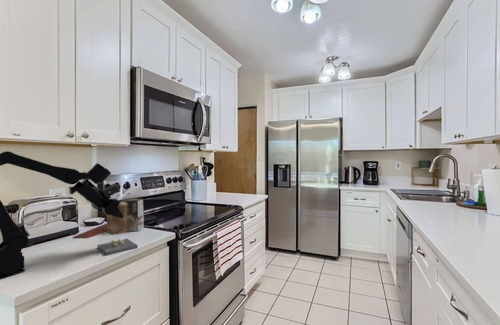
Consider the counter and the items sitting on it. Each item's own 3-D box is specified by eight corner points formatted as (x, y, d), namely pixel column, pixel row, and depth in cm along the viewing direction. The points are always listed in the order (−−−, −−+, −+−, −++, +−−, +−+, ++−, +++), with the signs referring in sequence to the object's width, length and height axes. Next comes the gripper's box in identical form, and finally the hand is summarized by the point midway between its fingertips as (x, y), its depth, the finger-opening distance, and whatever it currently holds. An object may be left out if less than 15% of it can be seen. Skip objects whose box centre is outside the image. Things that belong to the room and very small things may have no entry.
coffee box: (144, 228, 137) (144, 198, 137) (138, 231, 131) (138, 200, 131) (128, 227, 138) (128, 198, 138) (121, 230, 132) (121, 200, 132)
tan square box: (111, 235, 103) (111, 205, 103) (106, 231, 107) (106, 203, 107) (127, 232, 107) (127, 203, 107) (121, 229, 111) (122, 201, 111)
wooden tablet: (107, 224, 146) (107, 222, 146) (123, 225, 145) (123, 222, 145) (68, 239, 120) (68, 235, 120) (87, 240, 118) (87, 236, 118)
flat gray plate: (106, 255, 98) (106, 247, 98) (97, 247, 107) (97, 240, 107) (137, 247, 107) (137, 240, 107) (126, 241, 115) (126, 234, 115)
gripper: (114, 179, 97) (142, 204, 106) (99, 176, 110) (125, 199, 118) (91, 201, 92) (123, 226, 100) (78, 196, 105) (107, 218, 113)
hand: (120, 216), depth 108 cm, fingers closed on tan square box, 6 cm apart
